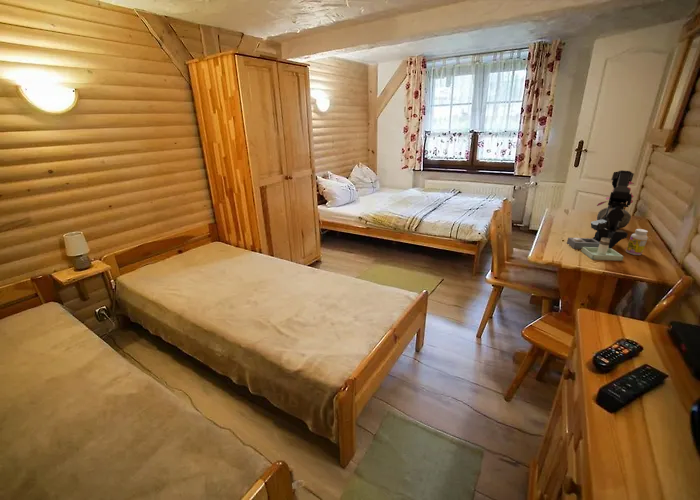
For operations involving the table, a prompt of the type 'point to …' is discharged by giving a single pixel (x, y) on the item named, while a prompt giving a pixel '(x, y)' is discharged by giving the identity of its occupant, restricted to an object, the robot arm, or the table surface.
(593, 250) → the parts tray
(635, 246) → the supplement bottle
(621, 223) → the vase
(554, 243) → the table surface
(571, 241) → the block
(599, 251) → the cylinder
